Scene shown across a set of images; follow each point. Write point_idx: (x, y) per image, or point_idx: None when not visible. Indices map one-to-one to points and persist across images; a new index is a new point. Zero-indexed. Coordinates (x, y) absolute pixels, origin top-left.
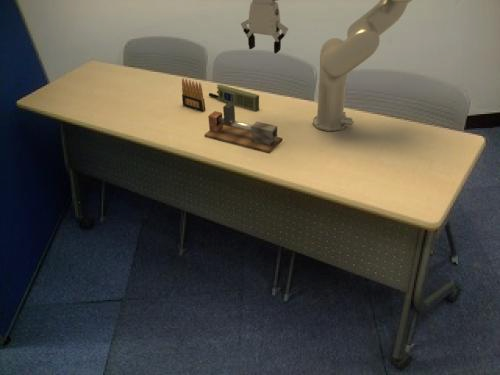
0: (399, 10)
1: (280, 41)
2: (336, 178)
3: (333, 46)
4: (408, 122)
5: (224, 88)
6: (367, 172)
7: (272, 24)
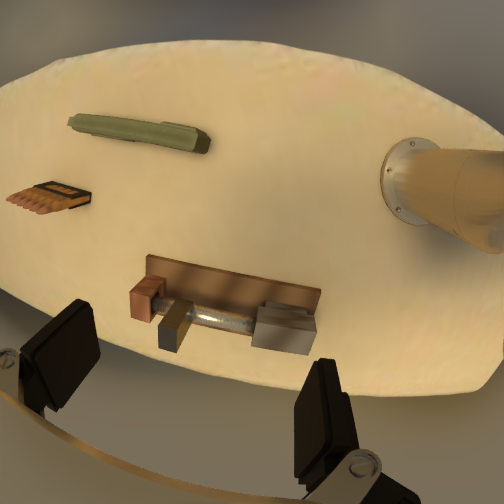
0: None
1: (356, 448)
2: (415, 368)
3: None
4: None
5: (89, 131)
6: (457, 340)
7: None
